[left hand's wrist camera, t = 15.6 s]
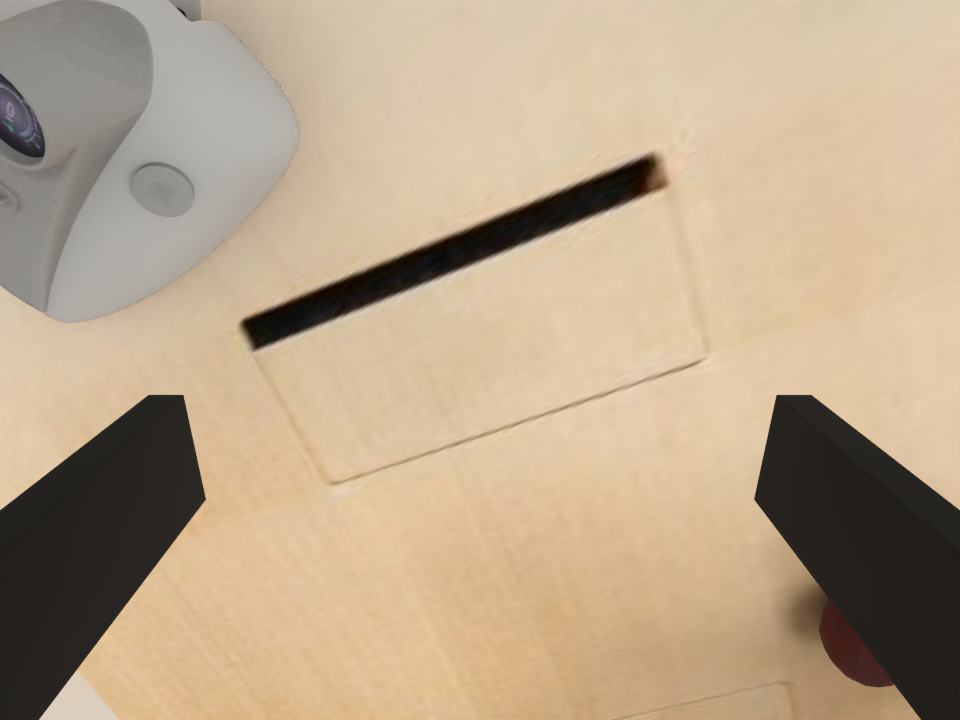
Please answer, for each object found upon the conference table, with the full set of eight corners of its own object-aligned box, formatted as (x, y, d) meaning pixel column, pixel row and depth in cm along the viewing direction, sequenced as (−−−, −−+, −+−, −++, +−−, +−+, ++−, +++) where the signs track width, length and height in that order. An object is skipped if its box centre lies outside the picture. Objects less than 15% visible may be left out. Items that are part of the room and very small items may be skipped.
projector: (-98, -46, 33) (-503, -174, 19) (288, -66, 33) (152, -211, 19) (29, 315, 41) (-193, 402, 28) (340, 302, 41) (270, 384, 27)
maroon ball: (808, 643, 53) (854, 714, 47) (798, 582, 50) (845, 649, 44) (888, 624, 52) (947, 694, 46) (882, 561, 50) (944, 626, 43)
